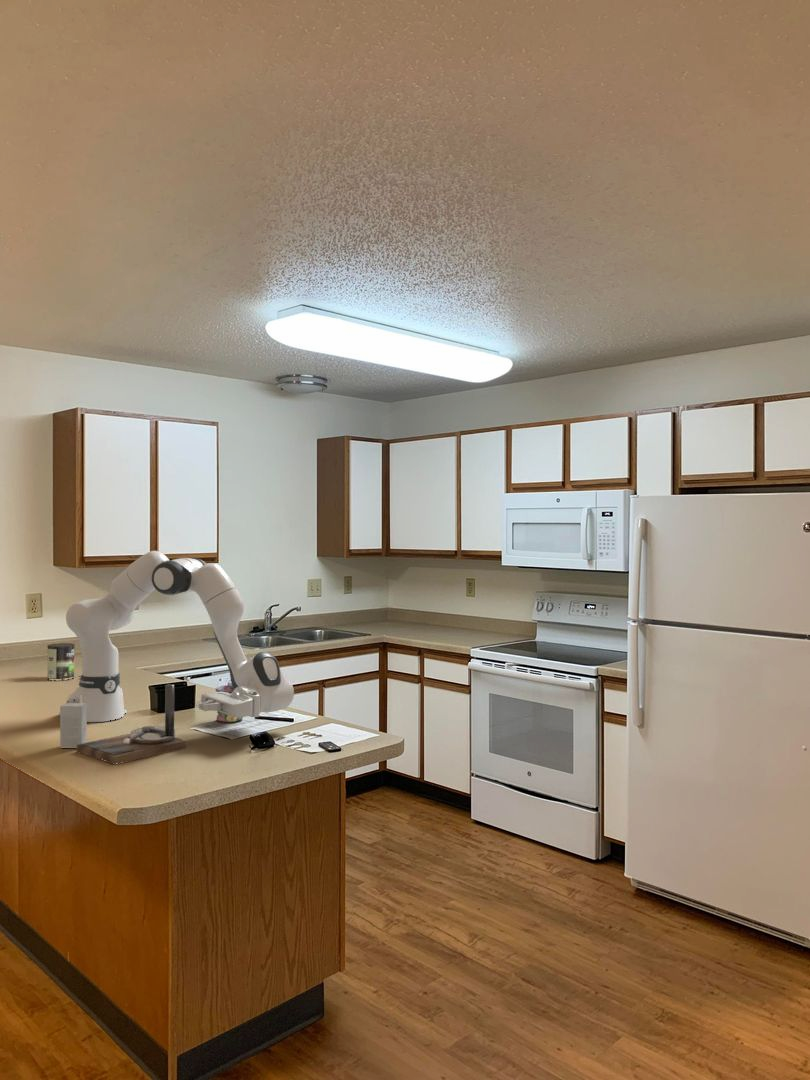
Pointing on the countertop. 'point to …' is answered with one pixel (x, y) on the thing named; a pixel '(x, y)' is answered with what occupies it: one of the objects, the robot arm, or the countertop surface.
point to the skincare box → (73, 725)
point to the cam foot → (157, 732)
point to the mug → (223, 716)
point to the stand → (126, 748)
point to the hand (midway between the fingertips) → (201, 707)
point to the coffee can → (60, 660)
